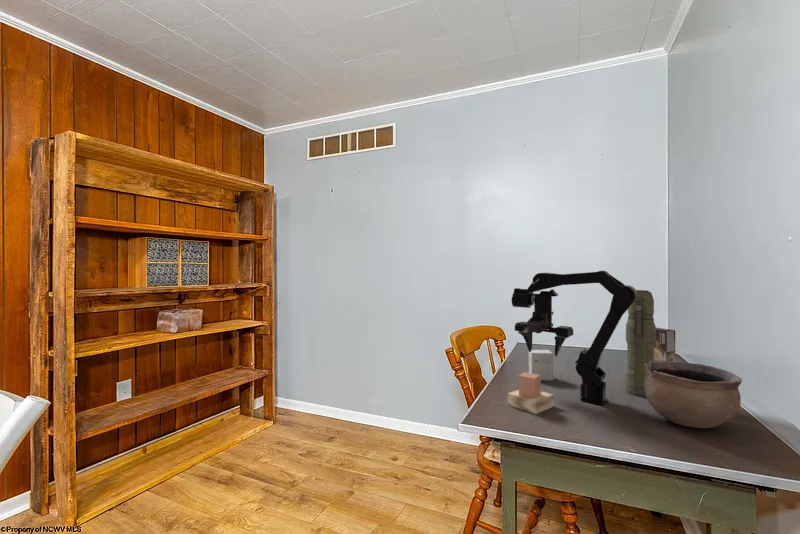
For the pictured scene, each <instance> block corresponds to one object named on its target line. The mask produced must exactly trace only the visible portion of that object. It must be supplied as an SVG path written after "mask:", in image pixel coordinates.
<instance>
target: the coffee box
mask: <svg viewBox="0 0 800 534" xmlns="http://www.w3.org/2000/svg"><path fill="white" fill-rule="evenodd" d="M655 360H662V361H676V330H675V329H668V328H661V327H656V343H655V345H654V361H655Z"/></svg>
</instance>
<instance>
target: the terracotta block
mask: <svg viewBox="0 0 800 534" xmlns="http://www.w3.org/2000/svg"><path fill="white" fill-rule="evenodd" d="M541 383H542V380H541V375H539V374H533V373H529V372H526V371H524V372H522V373H521V374H519V375H518V389H519V395H522V396H526V397H531V398H536V397H537V396H539V395H540V394H541V391H542V390H541V389H542V387H541V385H542V384H541Z"/></svg>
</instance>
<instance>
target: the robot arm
mask: <svg viewBox="0 0 800 534" xmlns="http://www.w3.org/2000/svg"><path fill="white" fill-rule="evenodd" d="M585 284H599V285H601V286H602V287H603V288H604V289H605V290H606V291H608V293H610V294H611V295H612V298H611V303H610V306H609V311H608V313H607V315H606V317H605V318H604V320H603V323H602V324H601V326H600V328H599V330H598V331H597V333H596V335H595V338H594V340H593V341H592V344H591V345H590V347H589V349H586V348H585V349H584V348H583V350H581V351H580V352H579V356H578V359H577V360H576V361H575V362H574V363H575V364H576V365H575V371H576V373H577V374H578V375H579V376H580V377H581V380H582V381H581V384H580V401H581V402H586V403H590V404H594V405H598V406H602V405H604V404H605V403H607V402H608V400H609V399H608V398H607V397H606V396H607V383H606V381H604V380H605V378H606V376H607V373H606V372H605V371H604V369H602V368H601V367H600V366H601V361H602V358H603V357H602V356H603V352H604V350H605V348H607V345H608V343H609V341H610V340H611V337H612V336H613V334H614V332H615V330H616V329H617V327H618V325H619V324H620V321H621V319H622V317H623V316H624V314H625V313H626V312H628V308H629V307H630V306H631V305H632V304H633V302H634V301H635V300H636V298H637V295H638V294H637V291H636V290H637V289H636V288H635V287H634V286H632V285H626V284H625V283H623V282H621V280H619V279H618V278H616V277H614V276H613V275H611V274H610V273H609V272H608V271H606V270H598V271H590V272H580V273H579V272H578V273H576V272H575V273H564V274H563V273H556V272H555V273H554V272H553V273H552V272H538V273H536V274H535V275H534V276H533V277H532V282H531V284H530V285H529V286H528V287H527V288H520V287H519V288H518V287H516V288H513V293H512V296H511V304H512V307H514V308H522V309H523V308H524V309H527V308H528V309H530V308H531V307H532V306H533V307H534V309H533V311H532V315H531V317H530V318H529V319H528V320H527V321H518V322H516V323H515V325H514V331H515V332H517V333H518V334H519V335H521V336H522V338H523V339H524V341H525V344H526V347H527V349H528V353H529V352H531V351H532V350H533V334H534V333H535V334H541V333H542V332H544V333H553V334H555V335H556V336H554V340H555V343H554V344H555V345H554V356H555V357H557V356H558V355H559V353H560V350H561V348H562V346H563V344H564V342H565V341H566V339H568V338H570V337H572V336H574V329H573V327H572V326H567V325H560V326H557V327H554V323H553V318H552V317H553V315H554V311H553V299H552V298H553V297H558V296H559V294H558V293H557V292H556V291H555V289H554V288H555V287H560V286H568V285H569V286H570V285H585ZM547 289H550V290H547ZM534 292H535V293H534ZM536 292H539V293H536Z"/></svg>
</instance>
